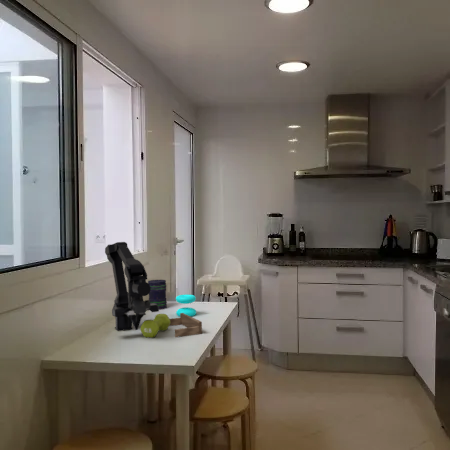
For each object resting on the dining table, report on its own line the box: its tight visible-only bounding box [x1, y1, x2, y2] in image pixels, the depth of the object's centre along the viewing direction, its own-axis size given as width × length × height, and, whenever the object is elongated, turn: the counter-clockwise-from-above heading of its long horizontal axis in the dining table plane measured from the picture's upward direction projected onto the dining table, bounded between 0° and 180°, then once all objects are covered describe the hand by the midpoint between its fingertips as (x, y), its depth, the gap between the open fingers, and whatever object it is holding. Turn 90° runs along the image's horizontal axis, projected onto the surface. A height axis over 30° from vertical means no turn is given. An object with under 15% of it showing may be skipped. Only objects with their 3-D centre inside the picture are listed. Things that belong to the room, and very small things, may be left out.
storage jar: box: [147, 279, 168, 311], centre depth 271 cm, size 10×10×15 cm
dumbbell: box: [139, 313, 171, 339], centre depth 213 cm, size 16×8×7 cm, turn 163°
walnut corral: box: [169, 313, 203, 338], centre depth 218 cm, size 12×22×5 cm, turn 26°
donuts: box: [175, 293, 197, 318], centre depth 250 cm, size 10×10×10 cm
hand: (136, 329), depth 210 cm, fingers closed
